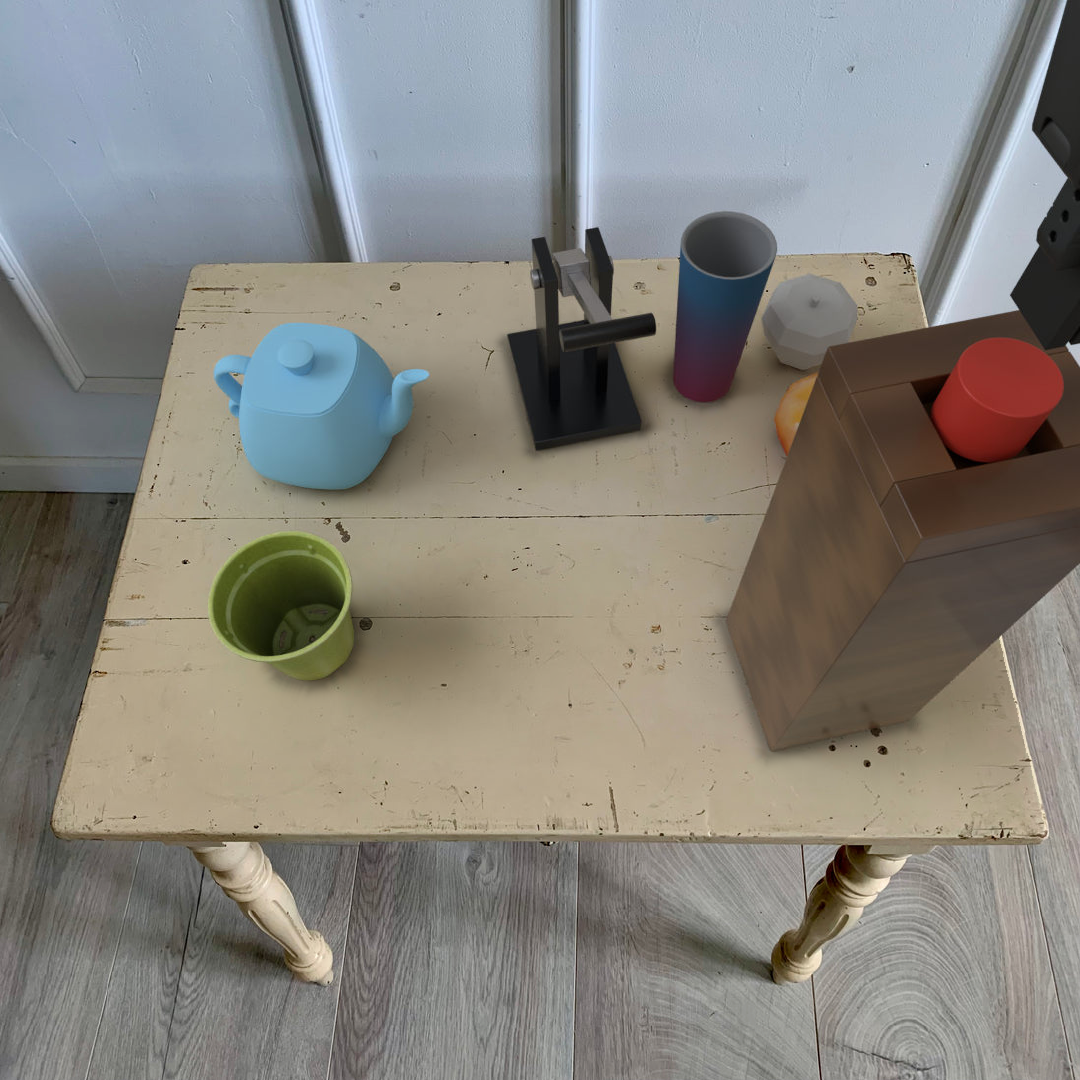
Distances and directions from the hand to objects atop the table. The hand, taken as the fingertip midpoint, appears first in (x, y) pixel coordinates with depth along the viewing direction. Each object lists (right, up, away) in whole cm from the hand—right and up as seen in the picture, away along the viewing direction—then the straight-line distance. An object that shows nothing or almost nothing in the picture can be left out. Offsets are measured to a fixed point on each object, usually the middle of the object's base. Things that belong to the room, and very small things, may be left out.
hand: (1049, 317), depth 32 cm
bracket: (-16, +5, +44) cm, 47 cm away
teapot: (-35, 0, +43) cm, 55 cm away
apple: (+4, +8, +46) cm, 46 cm away
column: (+1, -17, +31) cm, 36 cm away
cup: (-4, +6, +44) cm, 45 cm away
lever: (-15, +8, +30) cm, 34 cm away
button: (0, -3, +6) cm, 6 cm away
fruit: (+4, -1, +41) cm, 41 cm away
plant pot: (-35, -16, +34) cm, 51 cm away
